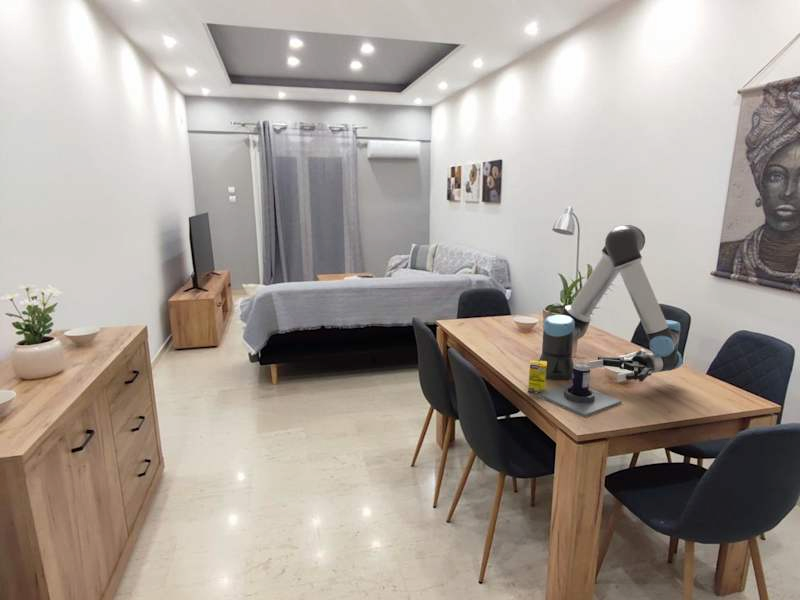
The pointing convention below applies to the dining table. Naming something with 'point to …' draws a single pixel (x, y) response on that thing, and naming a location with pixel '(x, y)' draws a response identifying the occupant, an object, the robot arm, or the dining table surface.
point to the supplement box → (537, 376)
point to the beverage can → (580, 379)
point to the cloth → (633, 354)
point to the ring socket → (580, 400)
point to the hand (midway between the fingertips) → (602, 371)
